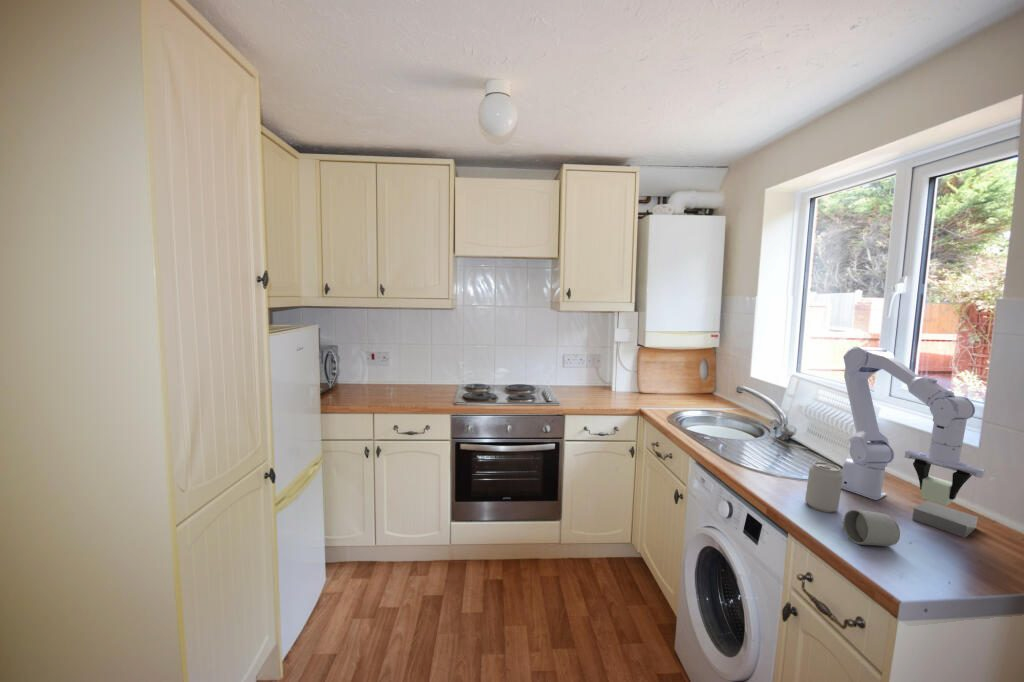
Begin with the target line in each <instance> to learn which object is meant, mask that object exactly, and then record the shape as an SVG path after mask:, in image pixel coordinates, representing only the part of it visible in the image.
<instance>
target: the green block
mask: <svg viewBox="0 0 1024 682" xmlns="http://www.w3.org/2000/svg"><path fill="white" fill-rule="evenodd" d="M951 488H952V481H949V480H946V479H943V478H939V477H935V476H932V475H928V477H926V478H924V479H923V482H922V488H921V490H920V494H919V498H920V499H923V500H925V501H926V500H927V501H930V502H933V503H936V504H939V505H942V506H945V507H948V505H950V504H951V503H953V501H954V500H952V499H949V497H950V492H951Z"/></svg>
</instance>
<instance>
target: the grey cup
mask: <svg viewBox="0 0 1024 682" xmlns="http://www.w3.org/2000/svg"><path fill="white" fill-rule="evenodd" d="M842 528H843V529H844V532H845V534H846V536H847V537H848V539H849V540H850V541H852V543H854V544H857V545H861V546H862V545H863V546H877V547H878V546H881V547H889V546H890V547H891V546H894V545H896V544H897V543H898V542H899V541H900V537H901V531H900V528H899V525H898V523H897V521H896V520H895V519H894V518H892V516H889V515H888V514H885V513H883V512H876V511H869V510H861V509H856V508H855V509H854V508H853V509H849V510H848V511H846V512H845V514H844V517H843V521H842Z"/></svg>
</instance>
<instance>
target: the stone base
mask: <svg viewBox="0 0 1024 682" xmlns="http://www.w3.org/2000/svg"><path fill="white" fill-rule="evenodd" d="M978 519H979V517H978V516H977V515H973V514H970V513H967V512H964V511H960V510H957V509H955V508H951V507H949V506H945V505H942V504H938V503H935V502H932V501H929V500H926V499H925V501H924V502H923V501H922V503H920V504H919V505H917V506H915V507H914V508H913V513H912V520H914V521H917V522H920V523H923V524H926V525H928V526H930V527H934V528H937V529H940V530H941V531H944V532H948V533H950V534H953V535H955V536H959V537H961V538H963V539H964V538H967V537H968V536H969V535H970V534H971V533H972V532H973V531H974V530H975V529H976V528H977V524H978Z"/></svg>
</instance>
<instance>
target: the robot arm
mask: <svg viewBox="0 0 1024 682" xmlns="http://www.w3.org/2000/svg"><path fill="white" fill-rule="evenodd" d="M843 360H844V361H843V362H844V365H845V366H844V367H845V368H844V381H845V386H846V391H847V396H848V400H849V405H850V410H851V414H852V419H853V424H854V429H855V433H853V434H852V436H850V438H849V443H850V444H849V448H848V449H849V450H848V452H849V453H848V454H849V456H850V458H848V457H847V458H846V459H845V461H844V463H843V465H842V469H841V473H842V474H843V479H842V486H841V490H842V489H843V490H844V491H848V492H852V493H854V494H857V495H860V496H863V497H866V498H868V499H871V500H873V501H878V500H880V499H882V498H884V497H886V496H887V492H884V491H882V490H883V486H884V479H885V472H886V467H888V465H889V464H890V463H892V462H893V461H894V459H895V451H894V449H893V447H892V446H891V445H890V443H889V439H888V437H887V436H885V435H884V434H883V433H882V432H881V431H880V429H879V424H878V421H877V416H876V415H877V414H876V412H875V407H874V402H873V397H872V394H871V393H872V392H871V388H870V385H869V381H868V380H869V379H870V378H871V377H872V376H873V375H875V374H876V373H878V372H879V371H881V370H884V371H885V372H886V373H888V374H889V375H891V376H893V377H894V378H896V379H897V380H898V381H900V382H902V383H903V384H905V385H906V386H908V387H907V390H908V393H910V394H911V395H912V396H914V397H915V398H916V399H918V400H919V401H921V402H922V403H923V404H924V405H926V406H927V407H929V411H930V413H931V414H932V422H933V423H932V424H933V425H932V430H931V436H930V443H929V448H928V453H925V452H920V451H916V450H910V449H907V450H905V452H904V458H905V459H911V460H914V461H913V463H912V466H913V467H914V468H913V469H915V472H916V475H917V477H918V480H919V489H920V491H921V488H922V482H923V479H924V478H926V477H928V476H929V473H930V469H931V466H935V467H941V468H945V469H949V470H951V471H954V472H952V479H951V480H952V481H951V482H952V488H951V492H950V497H949V499H952V500H953V501H954V500H956V498H957V495H958V493H959V492H960V490H961V488H962V487H963V485H964V484H965V483H966V482H967V481H968V480H969V479H970V478H971V477H972V476H974V477H976V478H978V479H983V478H984V476H985V472H986V469H985V468H984V469H983V468H980V467H977V466H973V465H971V464H969V463H968V464H967V463H965V462H961V461H960V459H961V454H962V449H963V443H964V438H965V431H966V427H967V421H968V420H969V419H971V418H973V416H974V415H975V413H976V407H975V404H974V403H973V402H972V401H971V400H969V398H968V397H967V396H966V397H965V396H958V395H955V393H954V392H953V391H952V390H948V389H946V388H945V387H944V386H942V385H941V384H939V383H937V382H938V380H937V379H936V378H935V377H929V376H922V377H921V376H919V375H918V374H917V373H915V372H914V371H913V370H911V368H909V367H908V366H906V365H905V364H904V363H903V362H901V361H900V360H899V359H897V358H896V357H895V356H894V353H892V352H890V351H888V350H887V349H885V348H883V347H862V346H852V347H850V348H849V349H848V350H847V351H846V353H844V355H843Z"/></svg>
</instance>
